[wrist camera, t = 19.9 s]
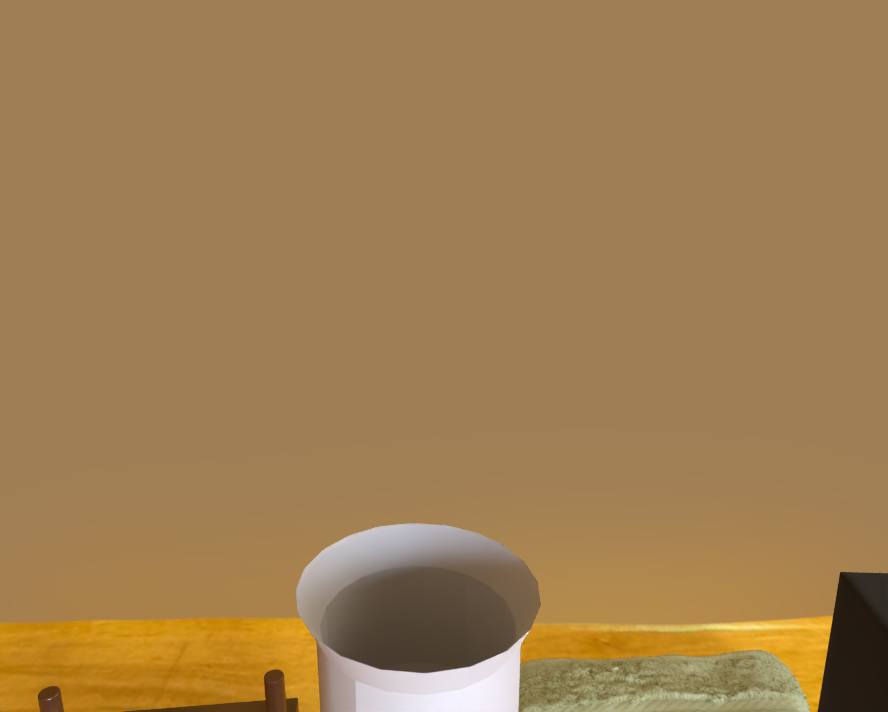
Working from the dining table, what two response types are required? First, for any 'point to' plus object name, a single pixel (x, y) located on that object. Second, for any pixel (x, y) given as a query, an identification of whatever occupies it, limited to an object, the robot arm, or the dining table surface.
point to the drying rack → (274, 708)
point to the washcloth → (661, 684)
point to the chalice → (418, 620)
